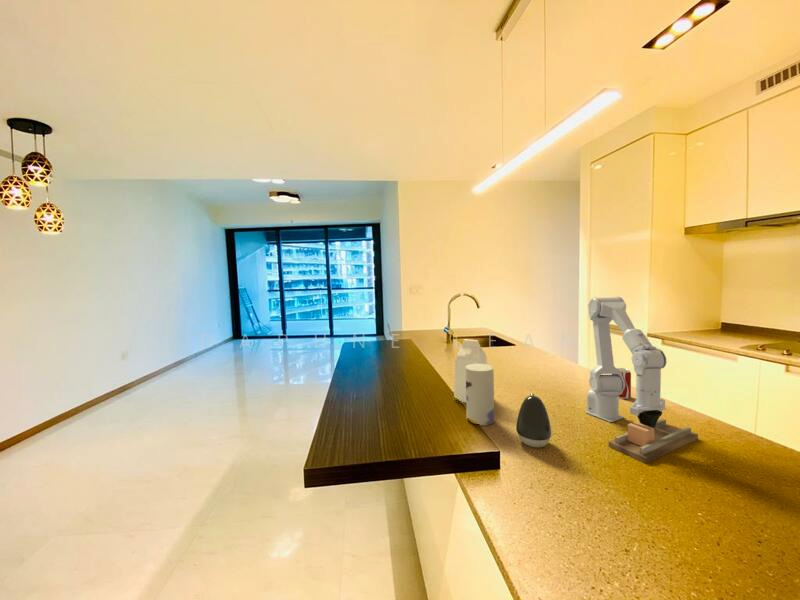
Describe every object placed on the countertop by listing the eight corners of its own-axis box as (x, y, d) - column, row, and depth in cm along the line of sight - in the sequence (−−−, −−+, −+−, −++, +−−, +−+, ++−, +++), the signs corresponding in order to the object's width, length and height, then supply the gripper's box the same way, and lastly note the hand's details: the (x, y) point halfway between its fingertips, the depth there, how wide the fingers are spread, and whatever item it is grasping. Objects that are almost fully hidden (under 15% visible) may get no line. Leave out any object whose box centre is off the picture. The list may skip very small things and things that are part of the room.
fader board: (608, 446, 94) (608, 435, 94) (660, 425, 106) (660, 416, 106) (645, 463, 85) (646, 451, 85) (697, 438, 97) (698, 428, 97)
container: (463, 414, 120) (462, 364, 119) (488, 413, 121) (487, 362, 119) (471, 426, 110) (470, 371, 109) (498, 424, 111) (497, 369, 109)
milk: (489, 396, 137) (488, 338, 136) (481, 406, 128) (480, 343, 126) (463, 392, 144) (462, 336, 142) (453, 400, 134) (452, 341, 133)
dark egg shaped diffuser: (549, 437, 101) (549, 391, 100) (553, 454, 91) (553, 403, 90) (516, 433, 104) (515, 388, 103) (516, 449, 95) (516, 400, 94)
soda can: (633, 399, 128) (633, 371, 128) (619, 399, 130) (619, 371, 129) (626, 395, 134) (627, 367, 133) (613, 394, 135) (613, 367, 134)
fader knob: (627, 440, 94) (627, 423, 94) (635, 437, 96) (635, 420, 95) (646, 448, 89) (646, 430, 89) (654, 444, 91) (654, 427, 91)
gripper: (649, 397, 86) (648, 445, 87) (677, 388, 92) (676, 433, 93) (622, 390, 93) (622, 434, 94) (650, 382, 99) (649, 423, 100)
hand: (647, 433), depth 94 cm, fingers closed
